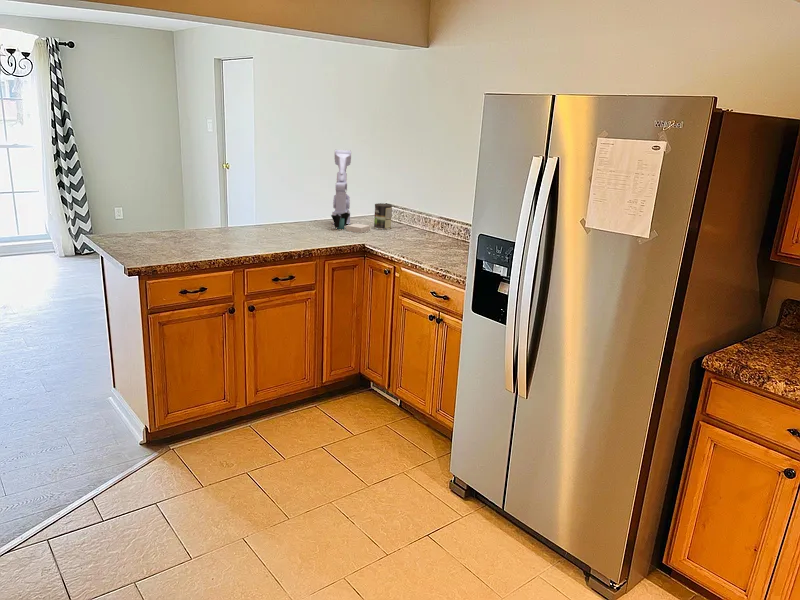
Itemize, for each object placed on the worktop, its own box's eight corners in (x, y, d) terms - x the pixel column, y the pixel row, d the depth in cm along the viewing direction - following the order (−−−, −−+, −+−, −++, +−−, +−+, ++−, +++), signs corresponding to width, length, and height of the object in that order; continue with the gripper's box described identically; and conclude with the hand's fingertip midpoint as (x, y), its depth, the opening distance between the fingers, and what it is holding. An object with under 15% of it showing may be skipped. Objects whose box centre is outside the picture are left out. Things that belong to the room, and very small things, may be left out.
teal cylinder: (339, 227, 359) (339, 217, 357) (345, 228, 357) (345, 218, 355) (334, 228, 355) (335, 218, 353) (341, 229, 353) (341, 219, 351)
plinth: (355, 228, 359) (355, 223, 358) (370, 230, 355) (370, 225, 354) (346, 230, 350) (346, 225, 350) (361, 233, 346) (361, 227, 345)
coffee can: (376, 229, 359) (377, 205, 355) (372, 226, 369) (372, 203, 364) (393, 229, 362) (394, 206, 358) (388, 226, 372) (389, 203, 368)
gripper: (339, 205, 343) (339, 228, 347) (353, 202, 356) (352, 225, 360) (329, 203, 346) (329, 227, 350) (343, 201, 359) (342, 224, 363)
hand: (340, 226), depth 355 cm, fingers open, 7 cm apart
